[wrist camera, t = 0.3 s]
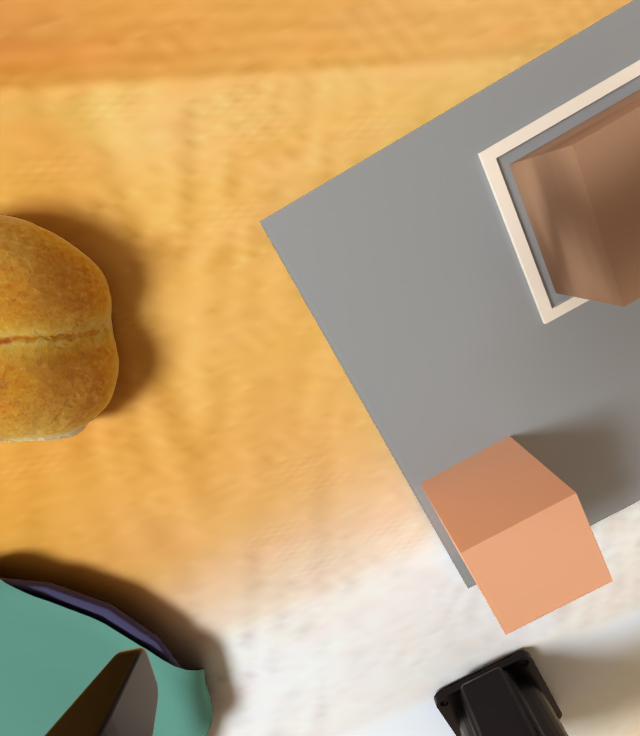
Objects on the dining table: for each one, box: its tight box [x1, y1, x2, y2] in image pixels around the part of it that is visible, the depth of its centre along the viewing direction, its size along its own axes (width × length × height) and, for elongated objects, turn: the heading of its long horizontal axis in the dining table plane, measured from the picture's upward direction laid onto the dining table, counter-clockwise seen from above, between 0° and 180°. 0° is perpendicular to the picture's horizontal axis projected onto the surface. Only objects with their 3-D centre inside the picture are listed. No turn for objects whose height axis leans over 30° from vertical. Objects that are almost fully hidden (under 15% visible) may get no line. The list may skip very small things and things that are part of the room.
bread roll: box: [0, 215, 119, 443], centre depth 17 cm, size 8×9×4 cm
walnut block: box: [509, 89, 640, 307], centre depth 16 cm, size 6×6×4 cm
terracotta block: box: [420, 436, 613, 634], centre depth 20 cm, size 5×5×5 cm
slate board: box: [260, 0, 640, 588], centre depth 20 cm, size 22×18×1 cm
